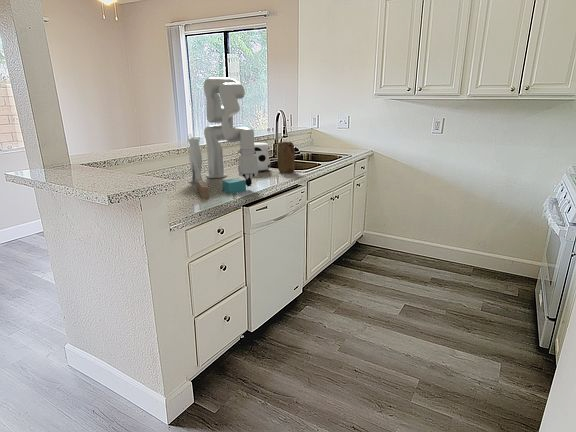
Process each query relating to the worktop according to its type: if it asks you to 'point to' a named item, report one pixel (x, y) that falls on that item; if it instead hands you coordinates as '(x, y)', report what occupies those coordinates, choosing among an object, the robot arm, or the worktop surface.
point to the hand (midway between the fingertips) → (248, 185)
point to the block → (286, 157)
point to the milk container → (262, 156)
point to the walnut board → (202, 188)
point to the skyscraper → (195, 159)
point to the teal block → (234, 185)
